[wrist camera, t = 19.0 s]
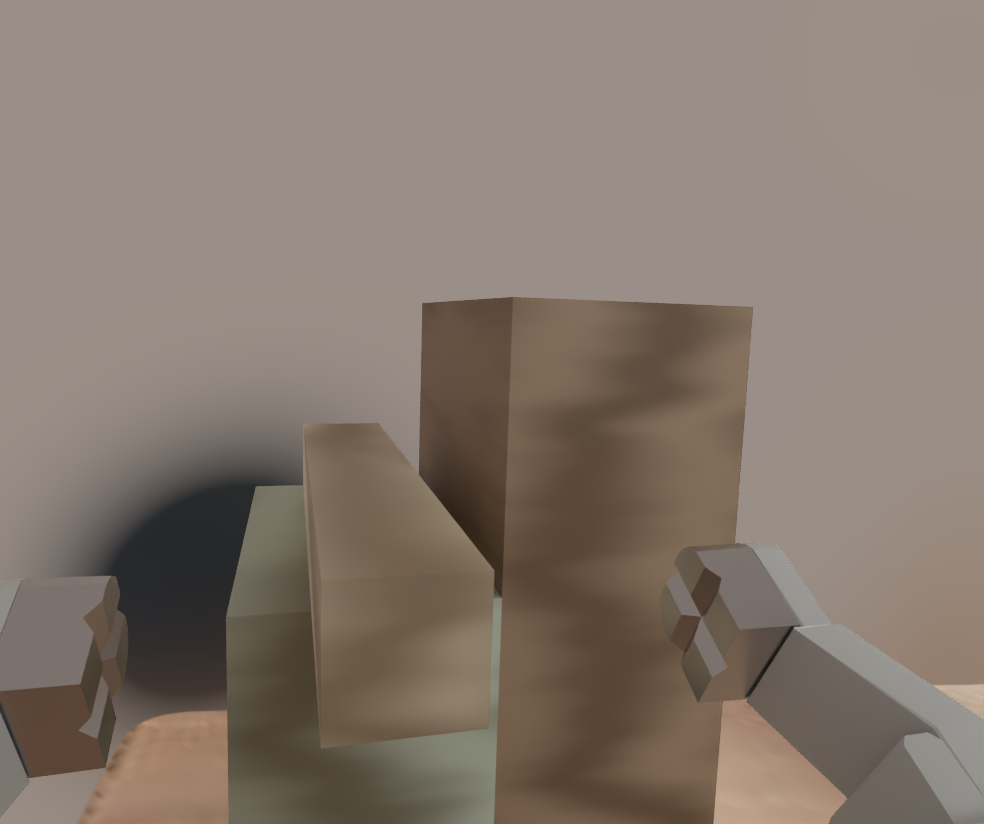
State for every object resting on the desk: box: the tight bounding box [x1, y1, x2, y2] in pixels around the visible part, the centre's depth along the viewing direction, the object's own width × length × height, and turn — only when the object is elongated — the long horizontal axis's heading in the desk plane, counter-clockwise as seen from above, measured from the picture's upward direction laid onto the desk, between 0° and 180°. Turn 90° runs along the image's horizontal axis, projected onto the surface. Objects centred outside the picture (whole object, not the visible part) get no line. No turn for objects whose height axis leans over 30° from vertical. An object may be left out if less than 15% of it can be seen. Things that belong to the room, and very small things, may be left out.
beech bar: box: [303, 423, 494, 749], centre depth 21 cm, size 3×18×3 cm, turn 15°
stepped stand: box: [226, 297, 753, 824], centre depth 27 cm, size 14×14×26 cm
